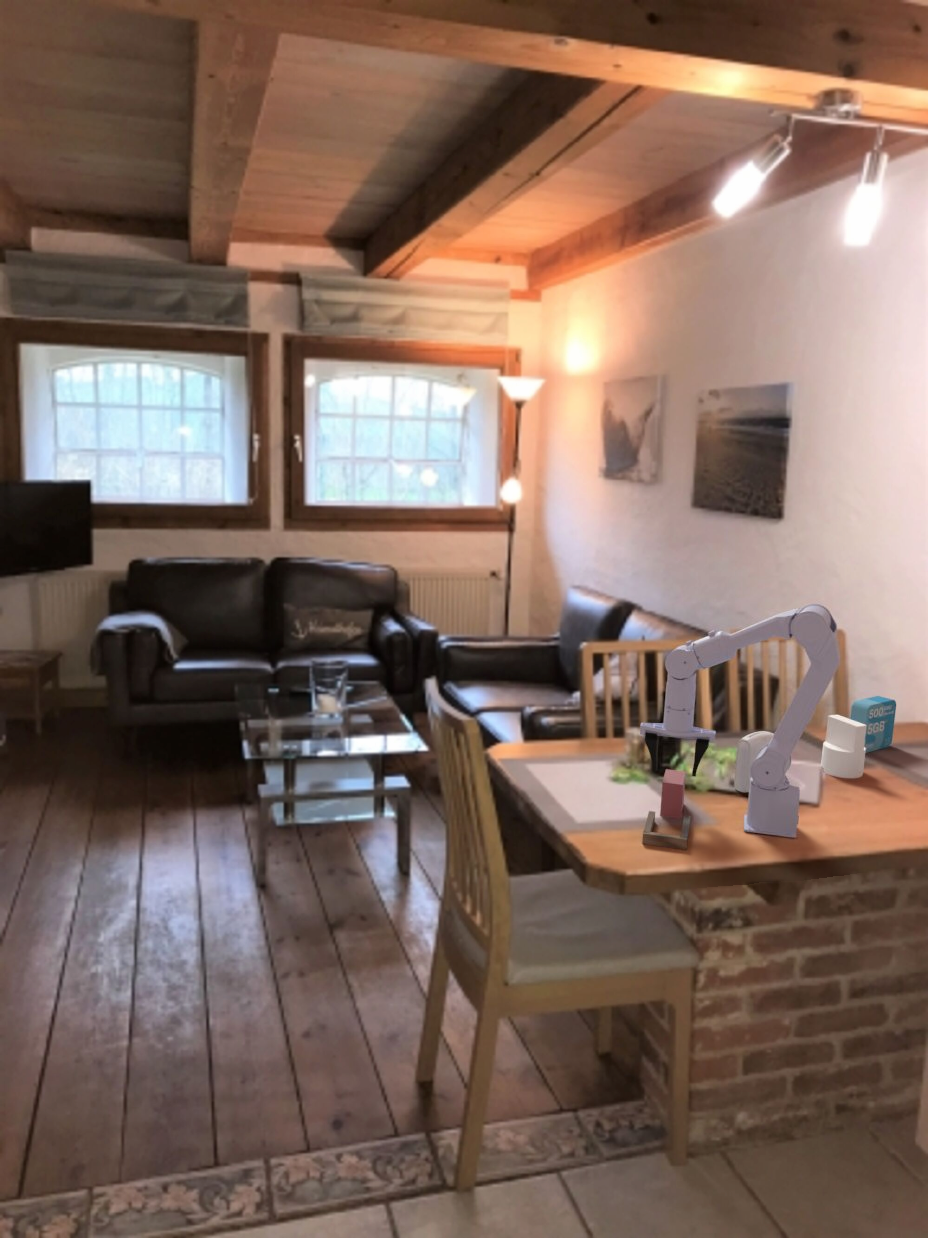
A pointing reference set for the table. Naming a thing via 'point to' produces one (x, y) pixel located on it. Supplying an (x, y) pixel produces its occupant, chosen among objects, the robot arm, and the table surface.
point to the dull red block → (673, 793)
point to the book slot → (665, 839)
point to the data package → (875, 720)
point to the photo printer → (748, 757)
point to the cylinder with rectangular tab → (844, 747)
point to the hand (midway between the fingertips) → (674, 772)
